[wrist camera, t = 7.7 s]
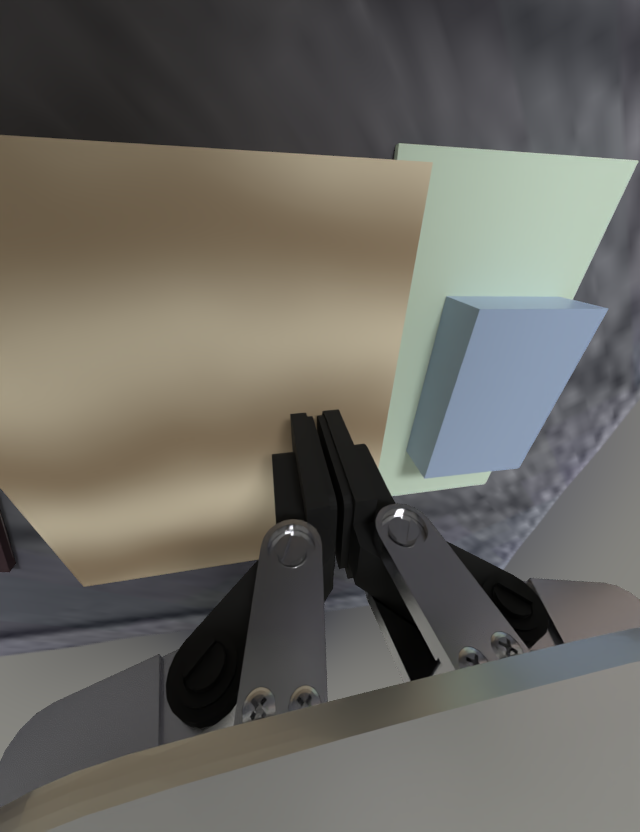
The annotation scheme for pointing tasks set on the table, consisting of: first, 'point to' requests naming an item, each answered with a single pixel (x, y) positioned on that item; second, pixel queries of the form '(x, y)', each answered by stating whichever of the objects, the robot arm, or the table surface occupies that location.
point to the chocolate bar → (5, 549)
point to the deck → (188, 336)
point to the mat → (491, 258)
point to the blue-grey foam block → (495, 379)
